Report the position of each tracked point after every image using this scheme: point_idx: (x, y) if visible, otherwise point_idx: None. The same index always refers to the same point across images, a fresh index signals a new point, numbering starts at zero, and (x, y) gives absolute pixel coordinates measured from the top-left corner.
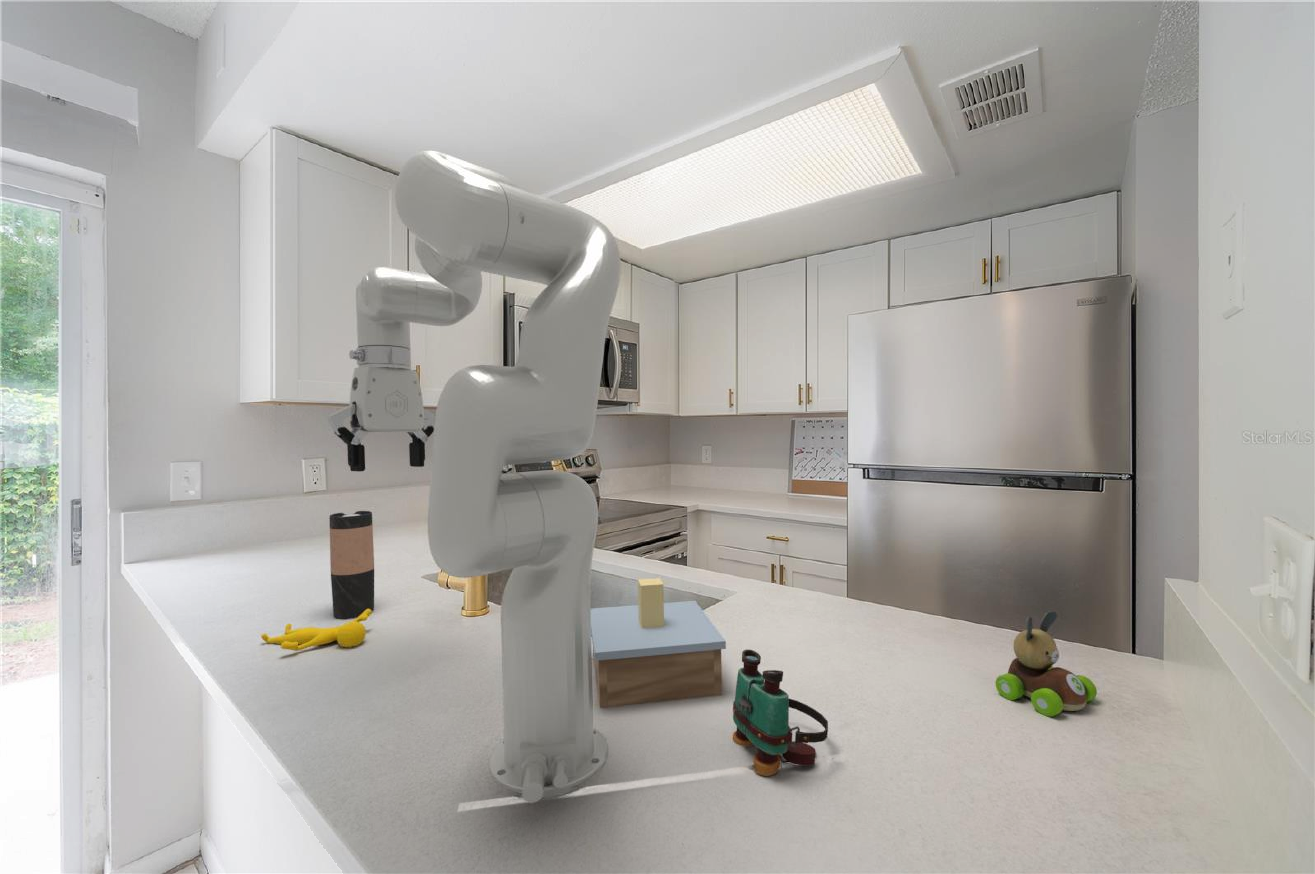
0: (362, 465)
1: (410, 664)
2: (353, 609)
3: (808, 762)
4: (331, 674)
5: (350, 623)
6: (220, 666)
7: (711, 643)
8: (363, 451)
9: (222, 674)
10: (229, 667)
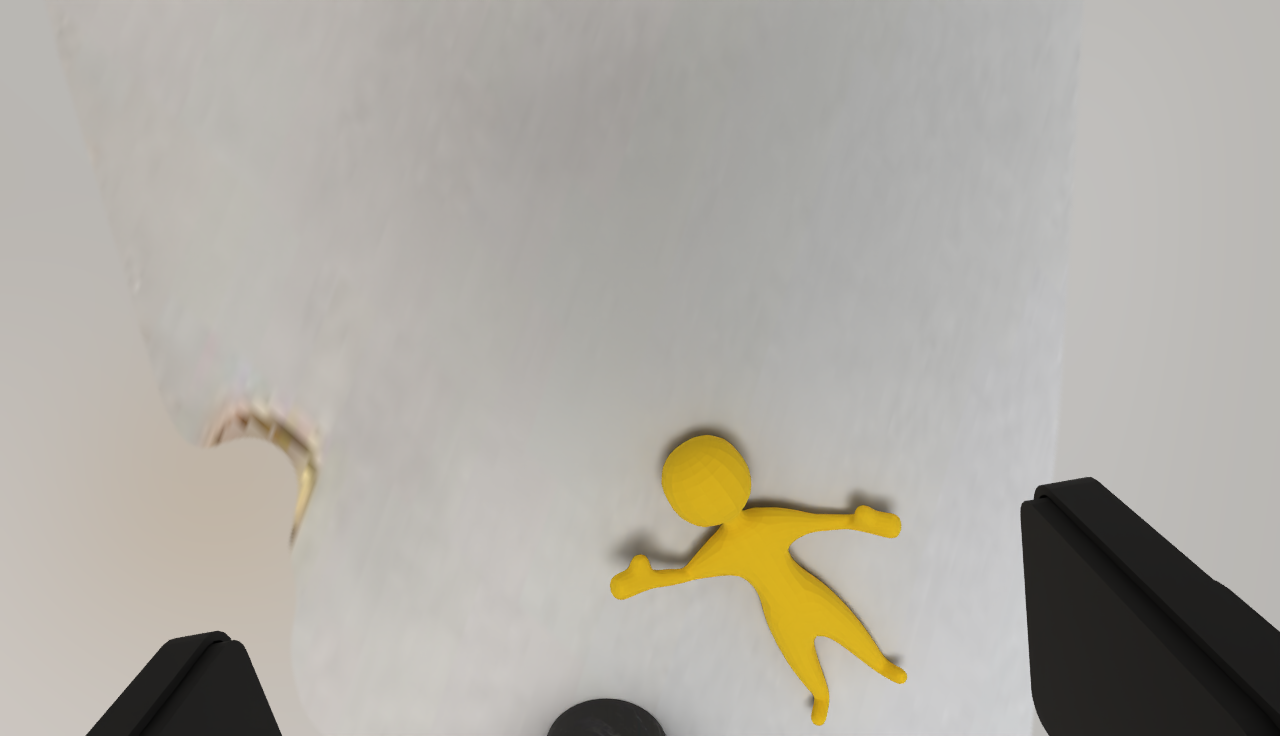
0: (1101, 503)
1: (618, 147)
2: (623, 722)
3: None
4: (825, 261)
5: (714, 490)
6: None
7: None
8: (1214, 646)
9: None
10: (1009, 540)
